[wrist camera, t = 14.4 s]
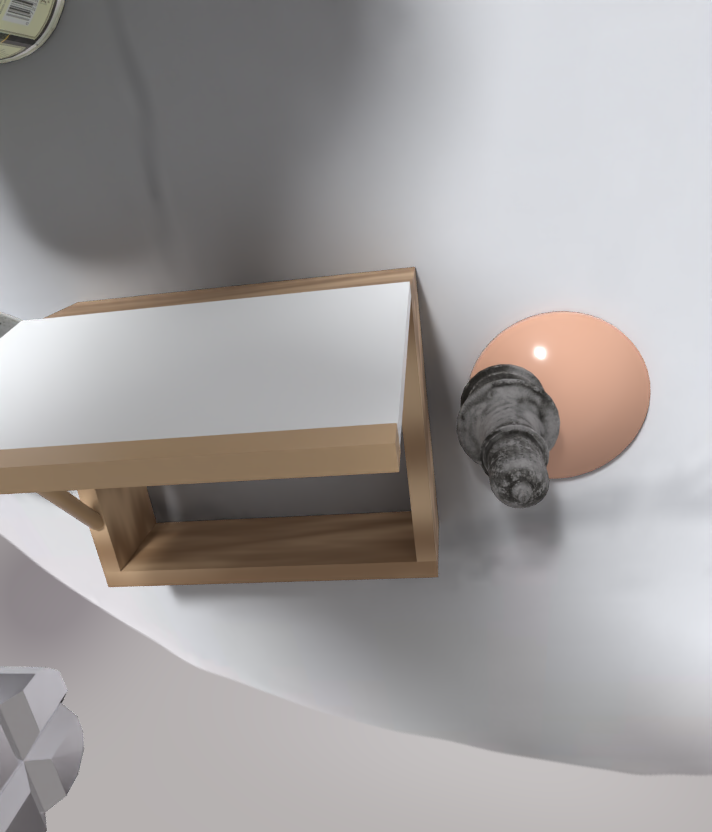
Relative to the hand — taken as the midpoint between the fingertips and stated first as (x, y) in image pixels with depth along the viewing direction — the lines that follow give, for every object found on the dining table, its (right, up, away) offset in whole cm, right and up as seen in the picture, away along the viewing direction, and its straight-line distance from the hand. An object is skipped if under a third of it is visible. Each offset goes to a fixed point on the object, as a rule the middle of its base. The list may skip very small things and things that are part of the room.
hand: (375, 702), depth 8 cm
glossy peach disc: (+12, +5, +34) cm, 36 cm away
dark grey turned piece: (+9, +4, +34) cm, 35 cm away
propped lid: (-7, +3, +31) cm, 32 cm away
